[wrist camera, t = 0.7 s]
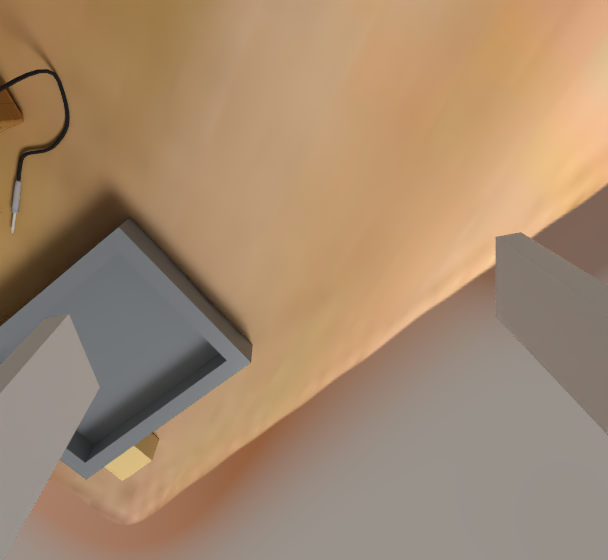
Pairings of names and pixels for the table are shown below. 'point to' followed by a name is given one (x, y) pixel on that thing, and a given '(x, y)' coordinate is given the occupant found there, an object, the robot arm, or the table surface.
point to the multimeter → (6, 114)
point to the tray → (133, 346)
